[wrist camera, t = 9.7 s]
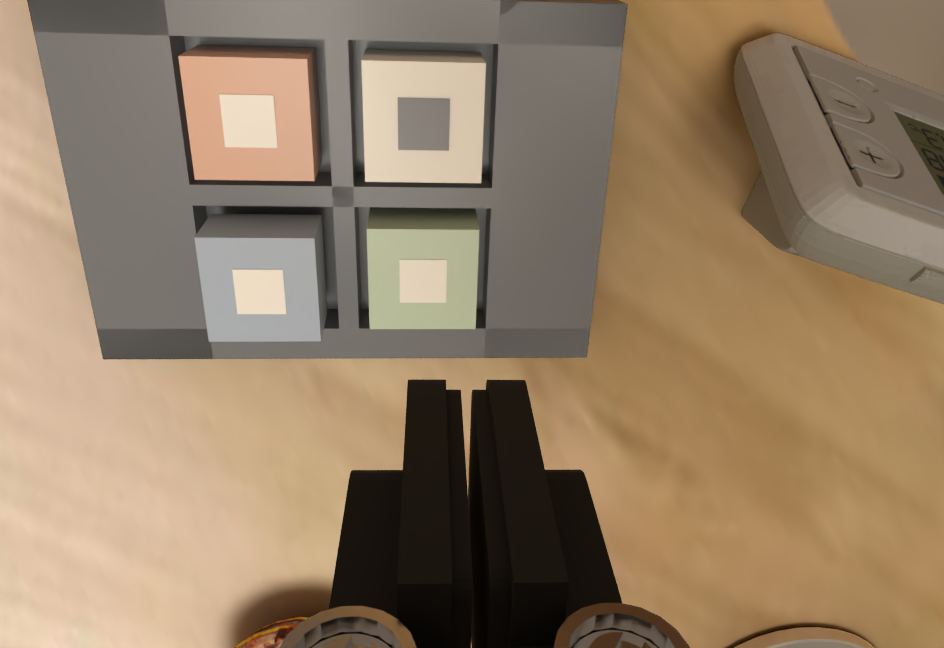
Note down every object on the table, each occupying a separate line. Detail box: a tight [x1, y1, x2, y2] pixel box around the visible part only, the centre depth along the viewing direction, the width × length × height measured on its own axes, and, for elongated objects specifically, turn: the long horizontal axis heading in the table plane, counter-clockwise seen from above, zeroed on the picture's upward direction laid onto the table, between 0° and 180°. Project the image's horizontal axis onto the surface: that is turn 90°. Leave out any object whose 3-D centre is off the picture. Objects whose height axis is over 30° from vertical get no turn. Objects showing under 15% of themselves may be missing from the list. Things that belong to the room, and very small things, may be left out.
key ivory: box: [361, 49, 486, 183], centre depth 28 cm, size 4×4×3 cm
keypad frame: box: [27, 0, 628, 359], centre depth 30 cm, size 20×14×2 cm
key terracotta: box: [178, 45, 322, 181], centre depth 28 cm, size 4×4×3 cm
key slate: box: [194, 214, 327, 342], centre depth 30 cm, size 4×4×3 cm
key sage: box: [367, 207, 479, 329], centre depth 31 cm, size 4×4×3 cm
